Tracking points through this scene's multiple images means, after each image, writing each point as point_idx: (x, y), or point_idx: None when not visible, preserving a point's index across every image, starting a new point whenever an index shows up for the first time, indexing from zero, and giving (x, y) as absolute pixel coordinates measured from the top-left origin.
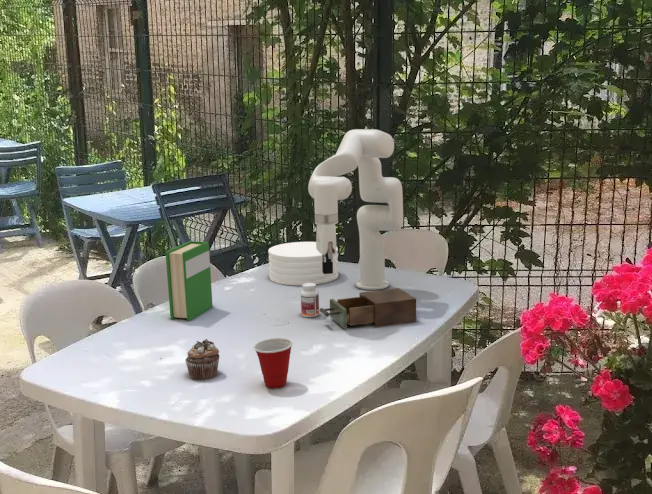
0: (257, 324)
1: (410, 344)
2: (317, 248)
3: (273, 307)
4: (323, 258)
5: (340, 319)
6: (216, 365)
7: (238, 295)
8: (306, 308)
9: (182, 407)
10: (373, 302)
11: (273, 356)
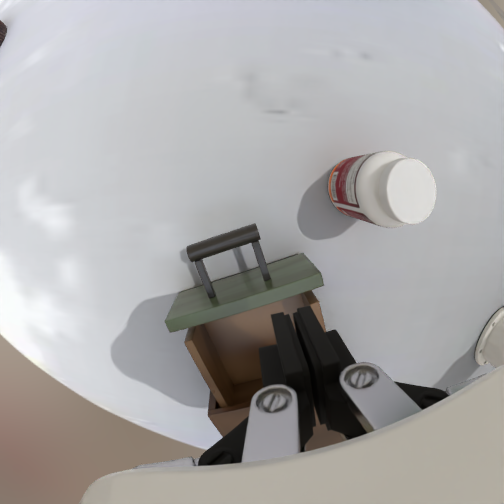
0: (266, 29)
1: (105, 404)
2: (481, 416)
3: (424, 91)
4: (347, 395)
5: (200, 292)
6: None
7: (482, 50)
8: (339, 172)
9: None
10: (222, 412)
11: None
